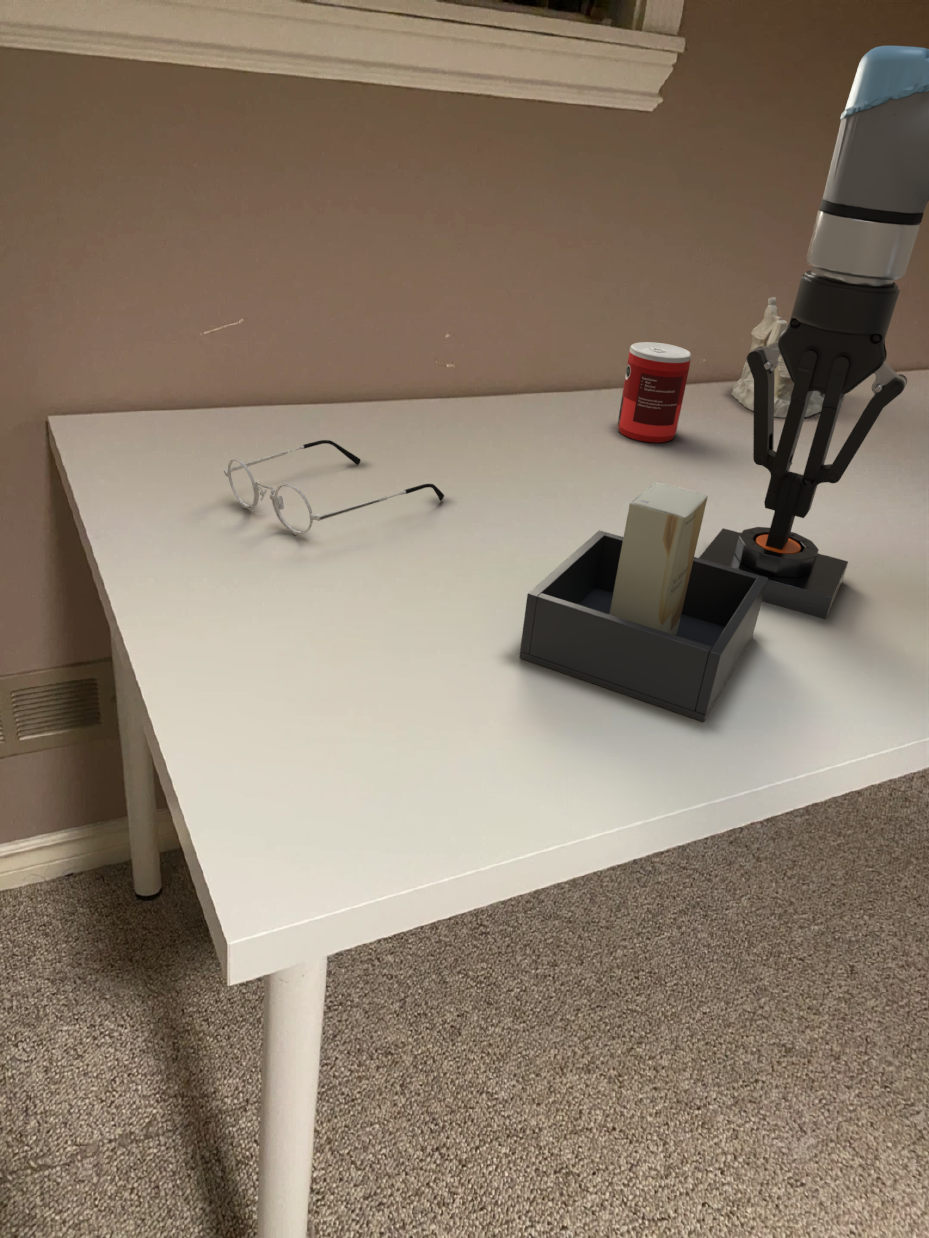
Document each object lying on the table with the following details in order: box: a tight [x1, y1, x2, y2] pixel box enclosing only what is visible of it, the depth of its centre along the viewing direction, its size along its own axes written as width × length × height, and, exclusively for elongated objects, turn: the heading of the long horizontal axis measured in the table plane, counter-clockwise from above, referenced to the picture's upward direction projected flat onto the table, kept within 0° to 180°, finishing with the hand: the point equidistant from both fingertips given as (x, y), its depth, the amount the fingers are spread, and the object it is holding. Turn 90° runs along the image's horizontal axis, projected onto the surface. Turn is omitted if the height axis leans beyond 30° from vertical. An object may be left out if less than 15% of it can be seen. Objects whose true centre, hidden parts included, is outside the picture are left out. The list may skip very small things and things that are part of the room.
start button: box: [755, 535, 801, 554], centre depth 87 cm, size 4×4×2 cm
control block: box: [698, 526, 849, 620], centre depth 87 cm, size 12×9×4 cm
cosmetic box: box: [609, 481, 708, 635], centre depth 72 cm, size 6×4×12 cm
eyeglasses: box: [223, 439, 445, 536], centre depth 95 cm, size 16×19×5 cm
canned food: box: [617, 341, 692, 444], centre depth 122 cm, size 8×8×11 cm
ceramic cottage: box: [731, 296, 825, 419], centre depth 141 cm, size 16×16×15 cm
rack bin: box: [519, 529, 768, 723], centre depth 74 cm, size 15×15×6 cm
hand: (775, 544), depth 86 cm, fingers closed
